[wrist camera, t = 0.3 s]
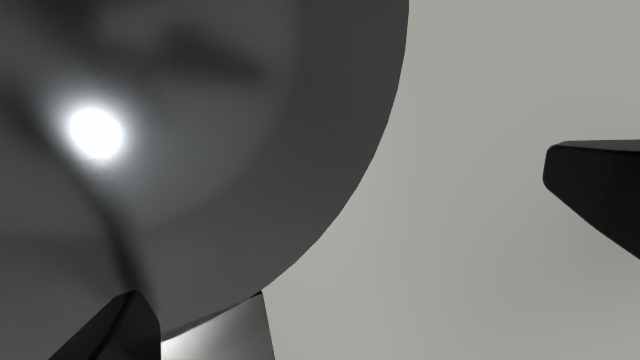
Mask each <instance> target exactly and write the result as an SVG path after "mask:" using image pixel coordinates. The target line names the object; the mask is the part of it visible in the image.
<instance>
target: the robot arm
mask: <svg viewBox="0 0 640 360" xmlns="http://www.w3.org/2000/svg"><path fill="white" fill-rule="evenodd" d="M543 182H544V185H545V186H546V188H547V189H548V190H549V191H550V192H552V193H553V194H554V195H555V196H556V197H558V198H559V199H560V200H561V201H562V202H564V203H565V204H566V205H567V206H568V207H570V208H571V209H572V210H573V211H574V212H576V213H577V214H578V215H579V216H580V217H582V218H583V219H584V220H585V221H586V222H588V223H589V224H590V225H591V226H593V227H594V228H595V229H596V230H598V231H599V232H601V233H602V234H603V235H605V236H606V237H608V238H609V239H611V240H612V241H613V242H615V243H616V244H618V245H619V246H621V247H622V248H624V249H625V250H626V251H628V252H629V253H631V254H632V255H634V256H635V257H637V258H638V259H640V140H591V141H590V140H588V141H565V142H561V143H559V144H555V145H553V146H551V147H550V148H549V149H548V150H547V153H546V158H545V165H544V170H543ZM48 360H161V329H160V324H159V320H158V318H157V316H156V314H155V313H154V311H153V310H152V308H151V306H150V305H149V303H148V302H147V300H146V299H145V297H144V295H143V294H142V293H141V292H140V291H139V290H132V291H129V292H126V293H123V294H120V295H117V296H116V297H114V298H113V299H112V300H111V301H110V302H109V303H107V304H106V305H105V306H104V307H103V308H102V309H101V310H100V311H99V312H98V313H97V314H96V315H95V316H94V317H93V318H91V319H90V320H89V321H88V322H87V323H86V324H85V325H84V326H83V327H82V328H81V329H80V330H79V331H78V332H77V333H76V334H74V335H73V336H72V337H71V338H70V339H69V340H68V341H67V342H66V343H65V344H64V345H63V346H62V347H61V348H60V349H58V350H57V351H56V352H55V353H54V354H53V355H52V356H51V357H50V358H49V359H48Z"/></svg>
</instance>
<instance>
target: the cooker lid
mask: <svg viewBox="0 0 640 360" xmlns="http://www.w3.org/2000/svg"><path fill="white" fill-rule="evenodd" d="M408 14H409V0H0V360H48V359H49V358H50V357H51V356H52V355H53V354H54V353H55V352H56V351H57V350H58V349H60V348H61V347H62V346H63V345H64V344H65V343H66V342H67V341H68V340H69V339H70V338H71V337H72V336H73V335H74V334H76V333H77V332H78V331H79V330H80V329H81V328H82V327H83V326H84V325H85V324H86V323H87V322H88V321H89V320H90V319H91V318H93V317H94V316H95V315H96V314H97V313H98V312H99V311H100V310H101V309H102V308H103V307H104V306H105V305H106V304H107V303H109V302H110V301H111V300H112V299H113V298H114V297H116V296H117V295H120V294H123V293H126V292H129V291H132V290H139V291H140V292H141V293H142V294H143V295H144V297H145V299H146V300H147V302H148V303H149V305H150V306H151V308H152V310H153V311H154V313H155V314H156V316H157V318H158V320H159V324H160V329H161V360H275V356H274V351H273V346H272V340H271V335H270V330H269V325H268V319H267V314H266V309H265V303H264V298H263V293H262V291H261V290H262V289H263V288H264V287H266V286H267V285H269V284H270V283H271V282H272V281H274V280H275V279H276V278H277V277H278V276H280V275H281V274H282V273H283V272H284V271H286V270H287V269H288V268H289V267H290V266H292V265H293V264H294V263H295V262H296V261H297V260H298V259H299V258H300V257H301V256H302V255H303V254H304V253H305V252H306V251H307V250H308V249H309V248H310V247H311V246H312V245H313V244H314V243H315V242H316V241H317V240H318V239H319V238H320V237H321V236H322V234H323V233H324V232H325V231H326V229H327V228H328V227H329V226H330V225H331V223H332V222H333V221H334V220H335V218H336V217H337V216H338V215H339V214H340V212H341V210H342V209H343V208H344V206H345V205H346V203H347V202H348V200H349V199H350V197H351V195H352V194H353V193H354V191H355V190H356V188H357V187H358V185H359V183H360V181H361V179H362V177H363V176H364V174H365V172H366V170H367V168H368V166H369V164H370V162H371V161H372V159H373V157H374V155H375V152H376V150H377V147H378V145H379V142H380V140H381V138H382V135H383V133H384V130H385V128H386V125H387V123H388V119H389V116H390V113H391V109H392V106H393V102H394V99H395V96H396V92H397V89H398V84H399V79H400V74H401V69H402V63H403V59H404V53H405V45H406V35H407V24H408Z"/></svg>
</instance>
